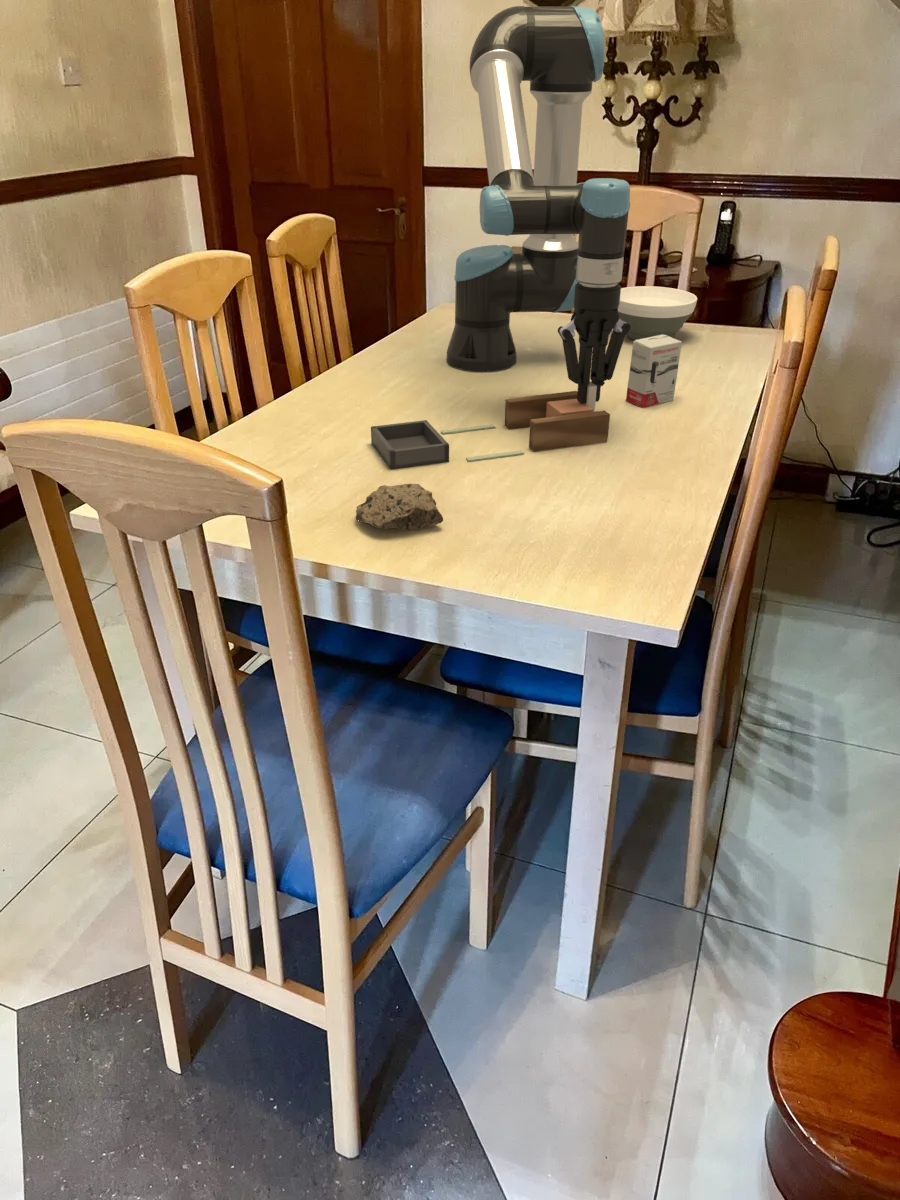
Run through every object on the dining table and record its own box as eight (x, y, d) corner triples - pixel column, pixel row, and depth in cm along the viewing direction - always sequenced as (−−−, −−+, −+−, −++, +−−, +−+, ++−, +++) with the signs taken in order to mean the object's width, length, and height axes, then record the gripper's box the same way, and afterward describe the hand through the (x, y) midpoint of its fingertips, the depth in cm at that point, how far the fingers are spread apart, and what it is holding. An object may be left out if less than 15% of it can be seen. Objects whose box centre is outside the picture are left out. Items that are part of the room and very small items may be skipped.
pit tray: (371, 443, 156) (370, 426, 155) (426, 436, 159) (426, 420, 158) (390, 469, 147) (390, 452, 145) (449, 461, 149) (449, 444, 148)
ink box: (642, 408, 172) (650, 346, 166) (624, 401, 176) (631, 340, 169) (674, 400, 176) (683, 339, 170) (656, 393, 180) (664, 333, 173)
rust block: (545, 428, 163) (547, 401, 160) (575, 425, 164) (577, 398, 162) (559, 440, 158) (561, 413, 155) (590, 436, 159) (592, 409, 157)
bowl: (699, 349, 206) (706, 306, 201) (613, 348, 206) (618, 305, 201) (682, 326, 223) (687, 286, 218) (602, 325, 223) (606, 285, 218)
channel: (504, 425, 164) (505, 398, 161) (574, 416, 168) (576, 390, 165) (533, 451, 153) (535, 423, 151) (607, 441, 157) (610, 414, 155)
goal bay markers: (440, 432, 161) (440, 430, 161) (492, 425, 164) (492, 424, 164) (468, 461, 149) (468, 460, 149) (524, 454, 152) (524, 452, 152)
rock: (352, 508, 135) (350, 481, 133) (428, 500, 137) (428, 473, 135) (364, 541, 126) (362, 512, 123) (445, 532, 128) (445, 504, 126)
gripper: (572, 290, 144) (562, 431, 156) (644, 284, 148) (629, 422, 160) (552, 280, 150) (544, 416, 162) (622, 275, 154) (608, 408, 166)
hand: (586, 419), depth 161 cm, fingers closed
